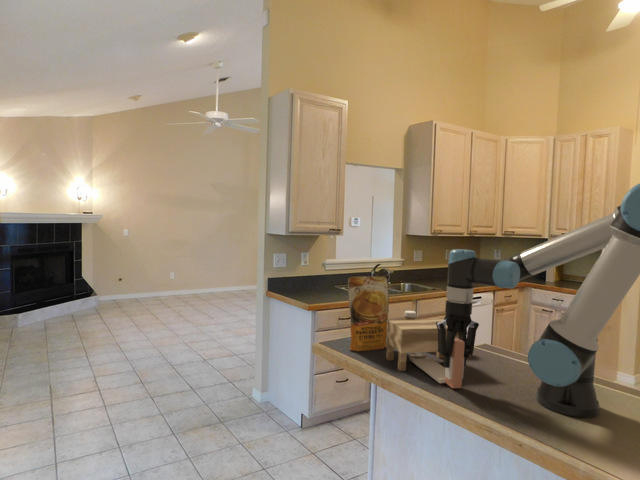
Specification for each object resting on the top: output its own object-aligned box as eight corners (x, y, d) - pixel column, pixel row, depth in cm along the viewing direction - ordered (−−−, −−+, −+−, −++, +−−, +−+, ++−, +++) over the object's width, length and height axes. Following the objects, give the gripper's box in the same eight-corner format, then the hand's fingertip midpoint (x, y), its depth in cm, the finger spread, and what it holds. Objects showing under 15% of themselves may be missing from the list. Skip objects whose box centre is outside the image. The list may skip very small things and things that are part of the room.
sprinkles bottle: (400, 342, 167) (402, 310, 167) (411, 342, 169) (412, 310, 168) (405, 346, 163) (407, 312, 162) (416, 345, 164) (418, 312, 163)
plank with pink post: (467, 387, 123) (470, 341, 122) (446, 388, 122) (449, 342, 121) (430, 361, 145) (433, 322, 144) (412, 362, 143) (415, 322, 142)
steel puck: (429, 363, 145) (430, 357, 144) (414, 364, 143) (414, 358, 143) (421, 357, 150) (421, 352, 150) (406, 358, 149) (406, 353, 149)
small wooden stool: (459, 368, 141) (461, 328, 140) (400, 371, 136) (402, 329, 135) (441, 356, 153) (443, 319, 152) (386, 358, 147) (388, 320, 147)
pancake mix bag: (340, 347, 158) (344, 275, 156) (383, 343, 165) (387, 274, 164) (348, 353, 152) (352, 278, 150) (392, 348, 159) (396, 277, 157)
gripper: (475, 298, 128) (469, 371, 130) (428, 298, 124) (423, 373, 126) (490, 303, 121) (484, 380, 122) (441, 303, 117) (436, 383, 119)
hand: (453, 377), depth 124 cm, fingers closed on plank with pink post, 3 cm apart
